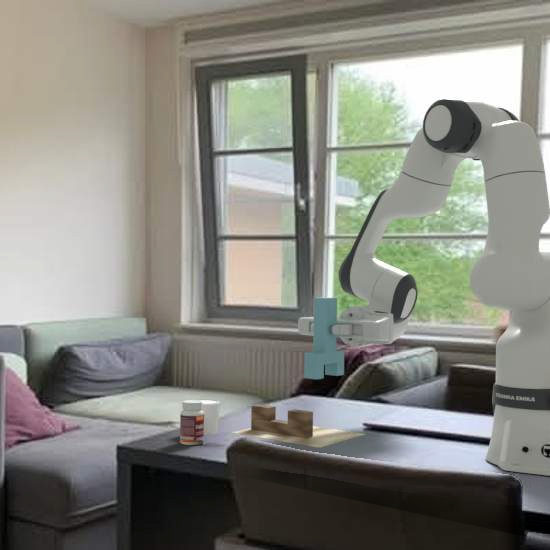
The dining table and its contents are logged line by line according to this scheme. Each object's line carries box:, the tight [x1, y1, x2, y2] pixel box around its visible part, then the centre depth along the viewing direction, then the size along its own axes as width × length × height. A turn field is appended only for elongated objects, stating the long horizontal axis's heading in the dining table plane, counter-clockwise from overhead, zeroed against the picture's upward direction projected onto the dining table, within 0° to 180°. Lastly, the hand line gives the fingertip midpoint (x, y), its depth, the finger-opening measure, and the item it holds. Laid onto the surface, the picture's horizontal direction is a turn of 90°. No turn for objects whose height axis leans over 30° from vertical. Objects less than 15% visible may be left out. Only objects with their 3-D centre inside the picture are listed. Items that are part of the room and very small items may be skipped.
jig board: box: [231, 403, 367, 449], centre depth 162 cm, size 22×17×6 cm
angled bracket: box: [303, 297, 345, 380], centre depth 160 cm, size 3×10×16 cm, turn 142°
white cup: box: [197, 399, 221, 437], centre depth 167 cm, size 7×7×7 cm
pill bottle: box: [179, 399, 205, 446], centre depth 158 cm, size 5×5×8 cm
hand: (322, 329), depth 159 cm, fingers closed on angled bracket, 3 cm apart
